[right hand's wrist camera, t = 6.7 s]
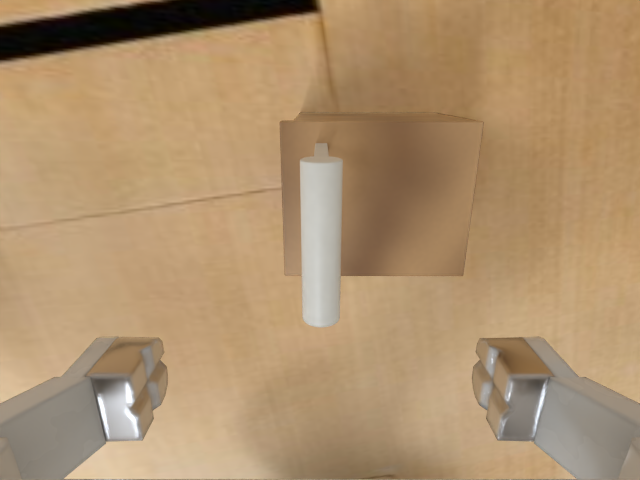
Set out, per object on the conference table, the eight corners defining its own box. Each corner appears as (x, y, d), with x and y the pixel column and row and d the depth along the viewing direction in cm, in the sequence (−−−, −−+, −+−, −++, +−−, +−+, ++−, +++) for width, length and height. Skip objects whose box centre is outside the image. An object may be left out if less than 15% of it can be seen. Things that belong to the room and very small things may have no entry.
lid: (285, 269, 28) (270, 346, 19) (281, 120, 24) (260, 135, 16) (458, 270, 28) (517, 347, 19) (477, 120, 24) (560, 135, 16)
